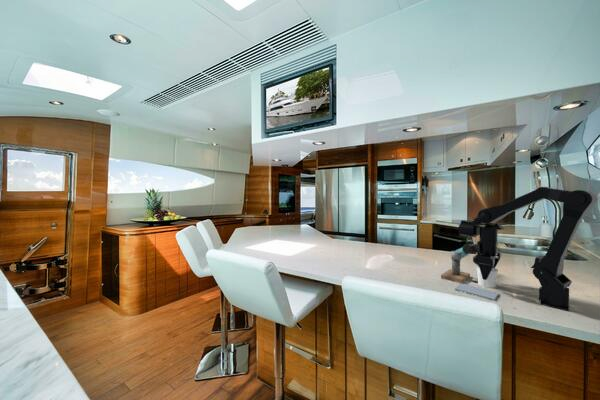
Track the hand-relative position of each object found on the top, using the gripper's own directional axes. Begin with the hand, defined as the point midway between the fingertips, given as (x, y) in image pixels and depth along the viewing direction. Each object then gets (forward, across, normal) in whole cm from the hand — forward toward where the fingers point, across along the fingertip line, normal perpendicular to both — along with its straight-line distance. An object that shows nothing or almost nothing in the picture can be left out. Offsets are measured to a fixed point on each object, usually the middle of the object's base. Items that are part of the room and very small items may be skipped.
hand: (487, 276), depth 96 cm
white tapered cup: (+4, 0, 0) cm, 4 cm away
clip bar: (-5, -8, -11) cm, 14 cm away
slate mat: (+3, +12, -1) cm, 13 cm away
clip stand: (+3, 0, -11) cm, 12 cm away
